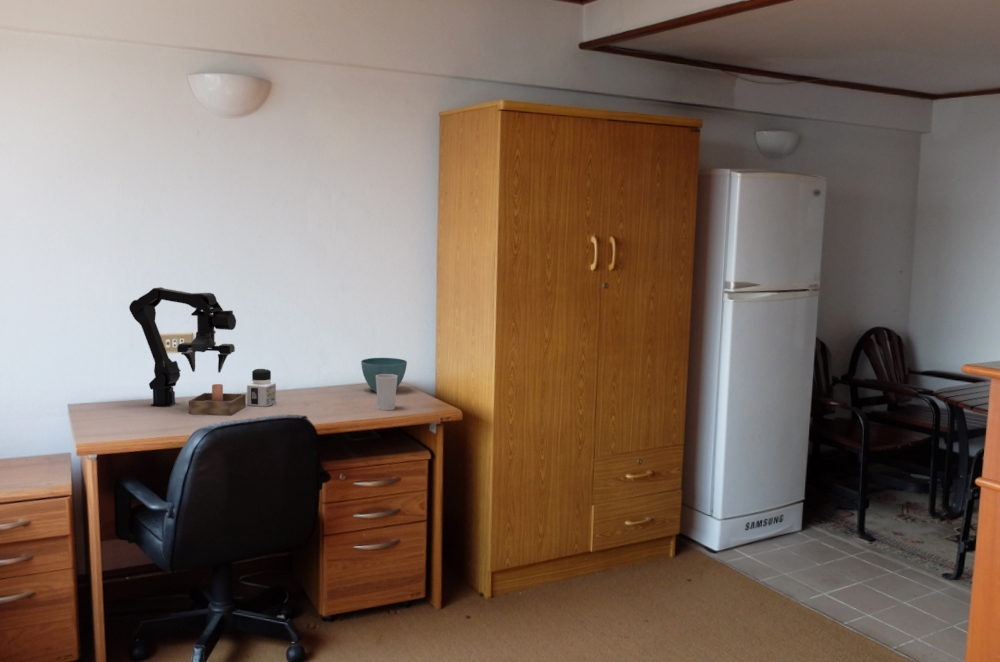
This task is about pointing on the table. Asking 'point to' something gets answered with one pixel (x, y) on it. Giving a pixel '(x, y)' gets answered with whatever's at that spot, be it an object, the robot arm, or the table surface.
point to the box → (217, 404)
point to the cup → (386, 391)
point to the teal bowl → (382, 369)
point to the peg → (217, 393)
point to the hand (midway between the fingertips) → (206, 372)
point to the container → (261, 389)
